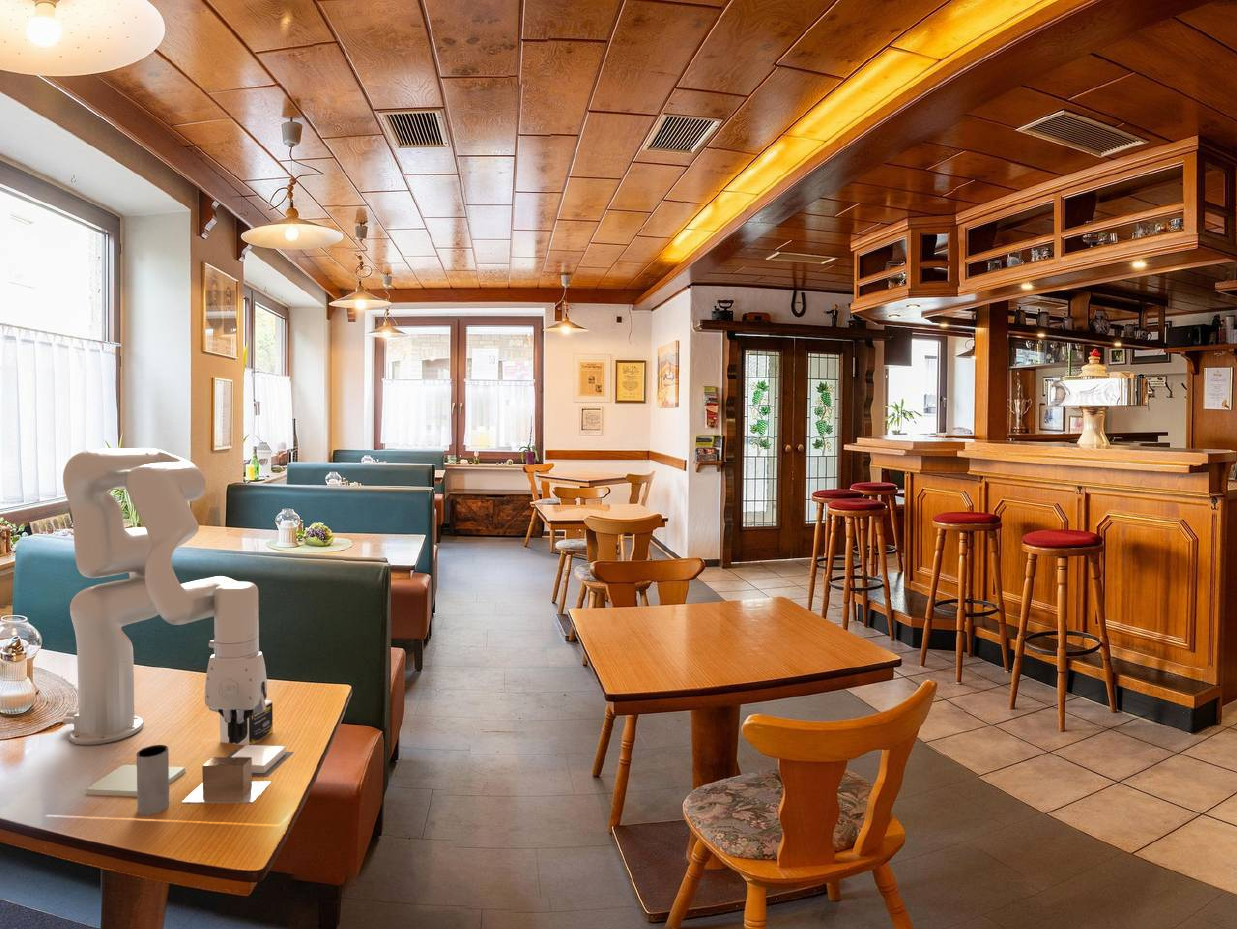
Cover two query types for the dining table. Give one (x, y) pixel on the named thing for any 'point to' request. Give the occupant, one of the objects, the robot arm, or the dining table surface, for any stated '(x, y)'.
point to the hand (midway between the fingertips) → (237, 740)
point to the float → (227, 782)
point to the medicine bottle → (252, 726)
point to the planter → (152, 779)
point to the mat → (271, 767)
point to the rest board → (125, 781)
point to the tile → (262, 756)
